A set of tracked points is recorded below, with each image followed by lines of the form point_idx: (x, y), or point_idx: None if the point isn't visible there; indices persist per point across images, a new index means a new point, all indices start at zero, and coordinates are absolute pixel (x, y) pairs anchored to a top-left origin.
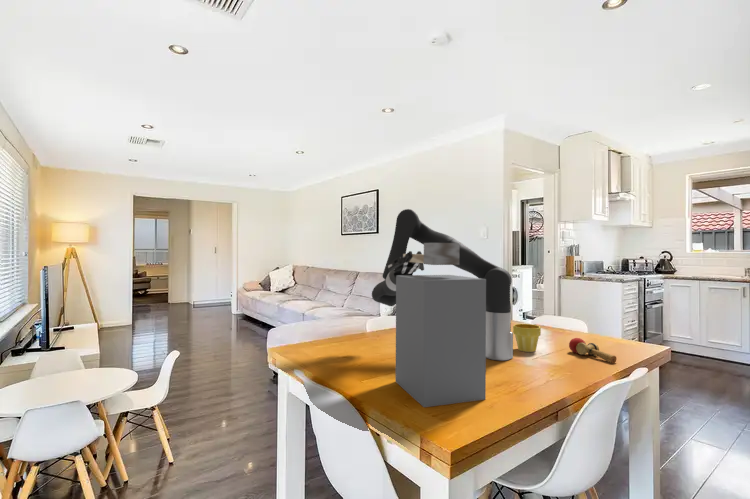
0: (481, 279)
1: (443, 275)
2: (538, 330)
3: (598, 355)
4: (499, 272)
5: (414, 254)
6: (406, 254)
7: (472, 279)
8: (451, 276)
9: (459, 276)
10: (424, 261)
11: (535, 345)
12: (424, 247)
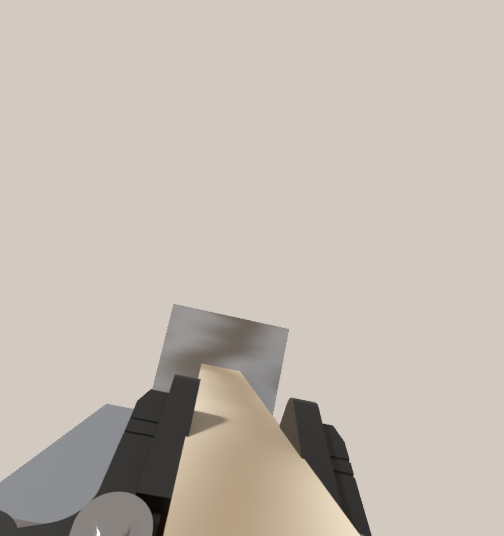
0: (121, 407)
1: (82, 493)
2: None
3: None
4: None
5: (270, 415)
6: (344, 459)
7: None
8: (110, 456)
9: (73, 447)
10: (272, 406)
11: None
12: (283, 347)
